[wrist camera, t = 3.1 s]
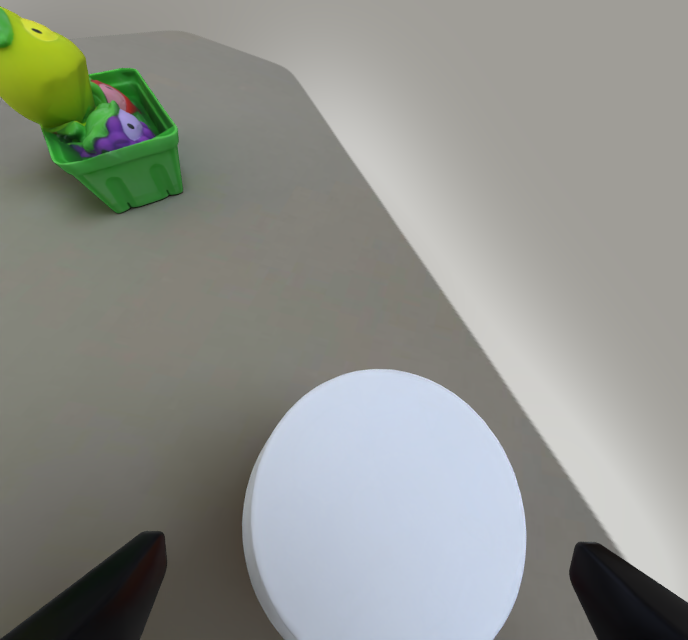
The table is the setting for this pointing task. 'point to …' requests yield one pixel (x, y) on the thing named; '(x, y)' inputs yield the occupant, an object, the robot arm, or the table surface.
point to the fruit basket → (90, 116)
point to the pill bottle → (384, 515)
